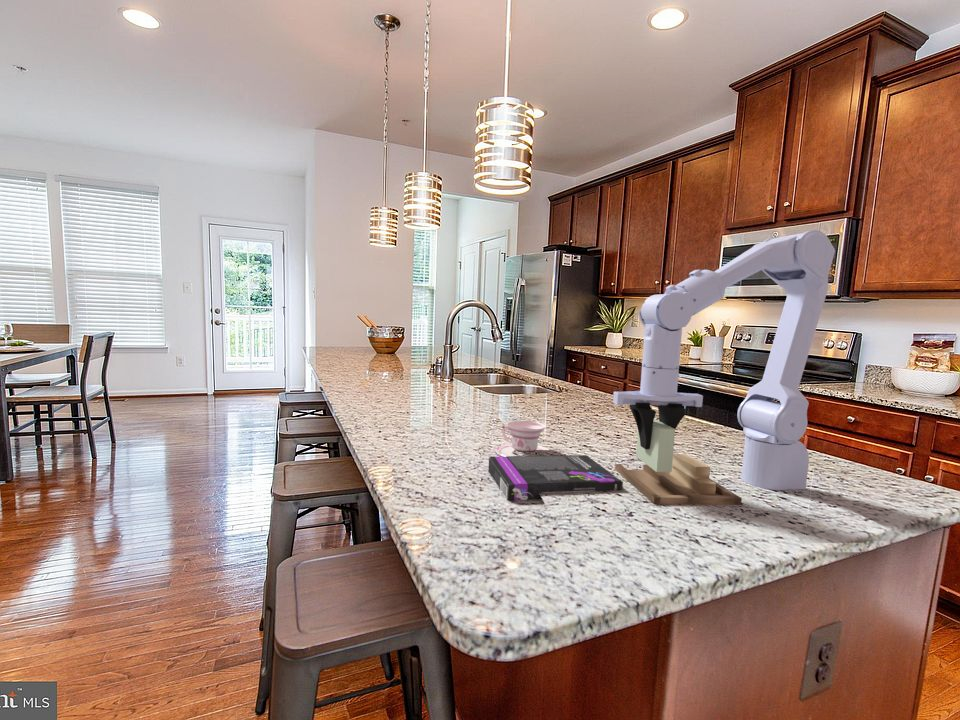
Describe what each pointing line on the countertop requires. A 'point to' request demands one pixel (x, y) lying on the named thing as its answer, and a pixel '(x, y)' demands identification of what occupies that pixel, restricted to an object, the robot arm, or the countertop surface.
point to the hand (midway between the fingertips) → (654, 447)
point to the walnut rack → (673, 488)
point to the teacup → (521, 437)
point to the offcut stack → (693, 474)
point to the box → (549, 475)
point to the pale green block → (658, 448)
